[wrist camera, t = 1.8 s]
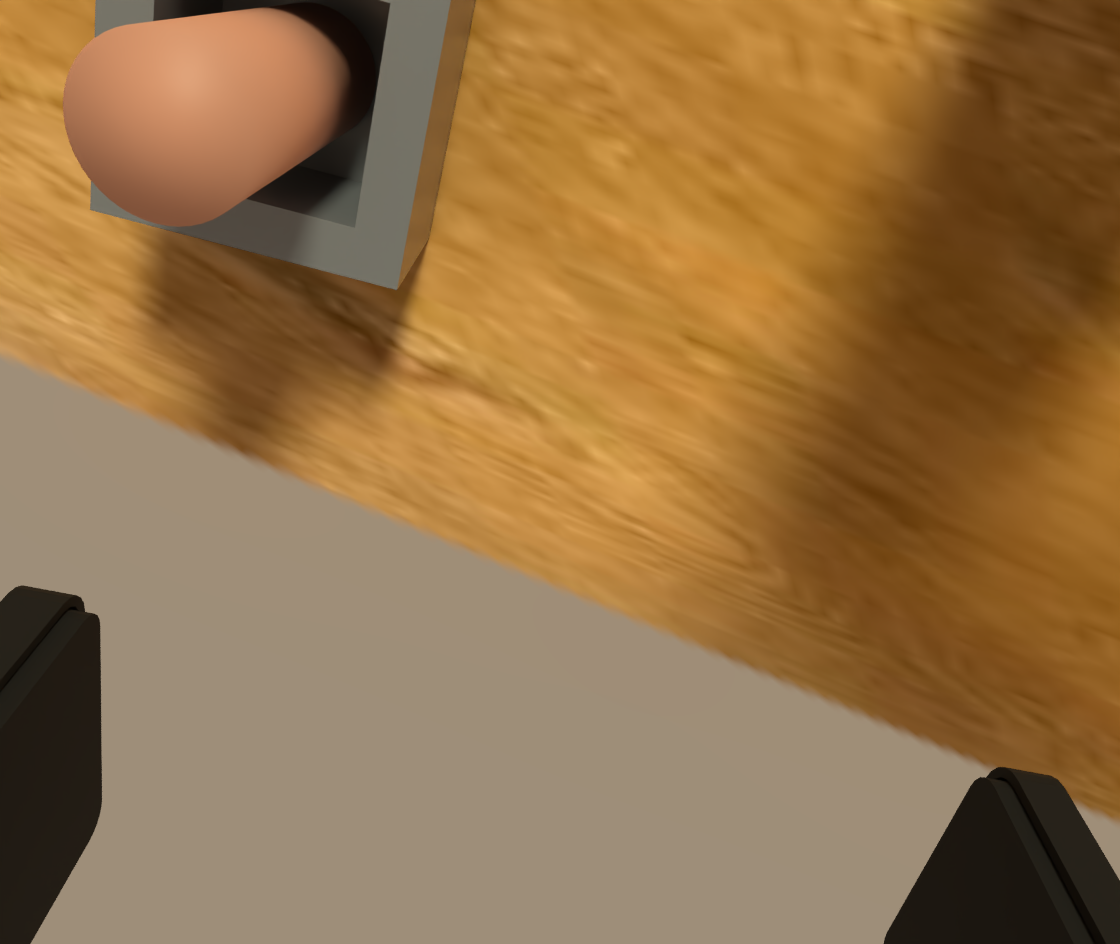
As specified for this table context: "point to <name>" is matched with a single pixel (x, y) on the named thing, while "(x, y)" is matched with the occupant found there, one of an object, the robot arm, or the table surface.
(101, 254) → the table surface
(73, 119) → the dowel
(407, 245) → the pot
